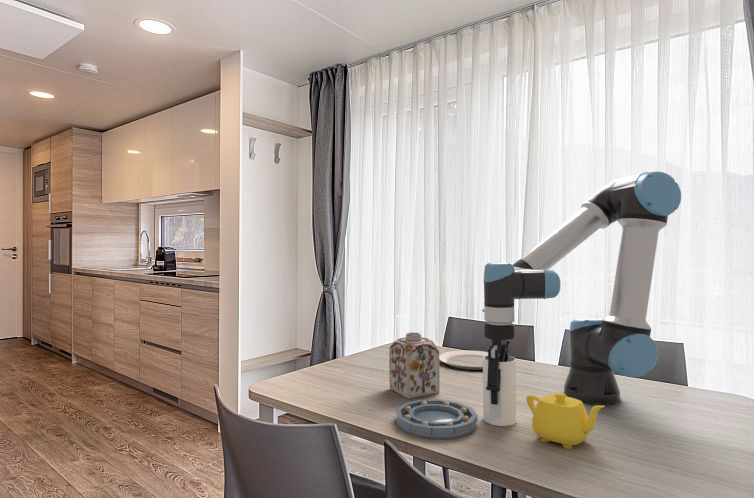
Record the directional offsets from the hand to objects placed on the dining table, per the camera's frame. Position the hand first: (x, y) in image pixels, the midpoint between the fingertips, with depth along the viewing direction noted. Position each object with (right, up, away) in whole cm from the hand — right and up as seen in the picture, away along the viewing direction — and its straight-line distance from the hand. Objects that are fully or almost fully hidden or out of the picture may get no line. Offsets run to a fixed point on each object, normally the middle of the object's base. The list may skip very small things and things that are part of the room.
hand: (499, 410), depth 119 cm
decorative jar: (-20, -3, +24) cm, 32 cm away
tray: (-17, -3, -1) cm, 17 cm away
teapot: (+11, -3, -13) cm, 17 cm away
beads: (-17, -1, -1) cm, 17 cm away
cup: (0, -3, 0) cm, 3 cm away
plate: (+5, -2, +59) cm, 59 cm away
